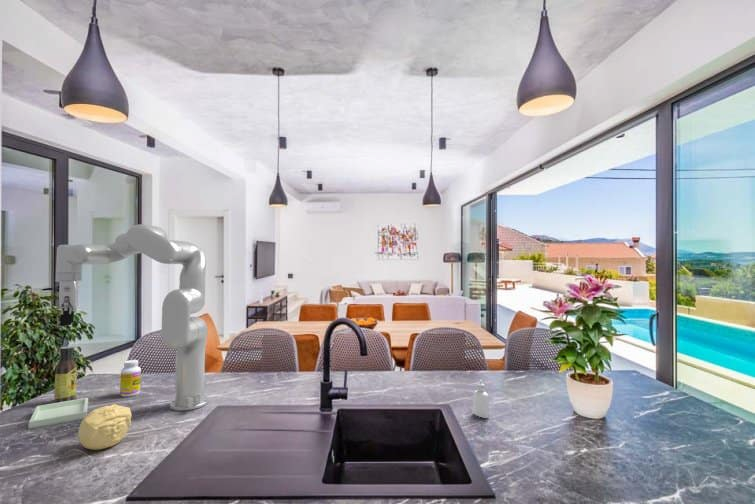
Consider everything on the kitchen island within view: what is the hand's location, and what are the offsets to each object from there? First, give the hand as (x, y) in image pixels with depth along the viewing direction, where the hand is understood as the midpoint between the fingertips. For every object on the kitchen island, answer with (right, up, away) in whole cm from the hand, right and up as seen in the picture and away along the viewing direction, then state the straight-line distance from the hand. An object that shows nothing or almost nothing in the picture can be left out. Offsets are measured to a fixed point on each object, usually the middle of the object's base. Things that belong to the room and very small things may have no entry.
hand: (67, 323), depth 140 cm
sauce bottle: (0, -29, -1) cm, 29 cm away
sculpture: (+39, -28, -34) cm, 58 cm away
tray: (+9, -28, -14) cm, 33 cm away
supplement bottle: (+19, -29, +7) cm, 36 cm away
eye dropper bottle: (+152, -29, -13) cm, 155 cm away
